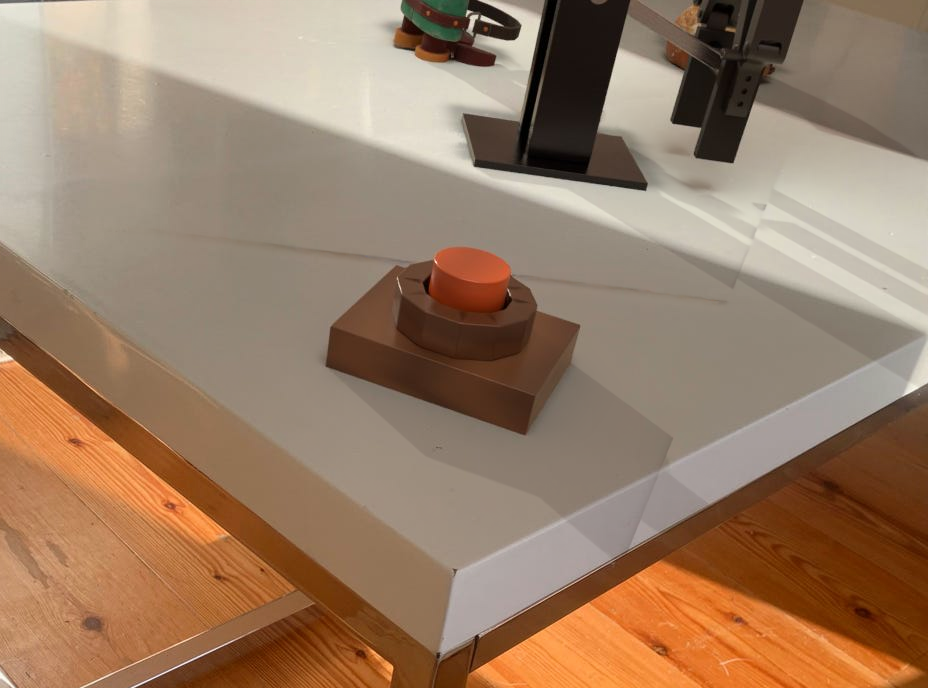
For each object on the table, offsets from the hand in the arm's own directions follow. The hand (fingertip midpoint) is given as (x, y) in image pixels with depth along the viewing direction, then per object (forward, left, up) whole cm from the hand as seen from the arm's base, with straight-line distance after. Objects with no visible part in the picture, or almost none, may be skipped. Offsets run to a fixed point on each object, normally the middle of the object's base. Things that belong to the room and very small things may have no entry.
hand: (700, 140), depth 79 cm
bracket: (+9, +4, -3) cm, 11 cm away
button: (+5, +35, +1) cm, 36 cm away
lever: (+5, +2, +6) cm, 8 cm away
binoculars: (+23, -14, -3) cm, 27 cm away
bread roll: (+3, -35, -3) cm, 35 cm away
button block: (+5, +35, -3) cm, 36 cm away
